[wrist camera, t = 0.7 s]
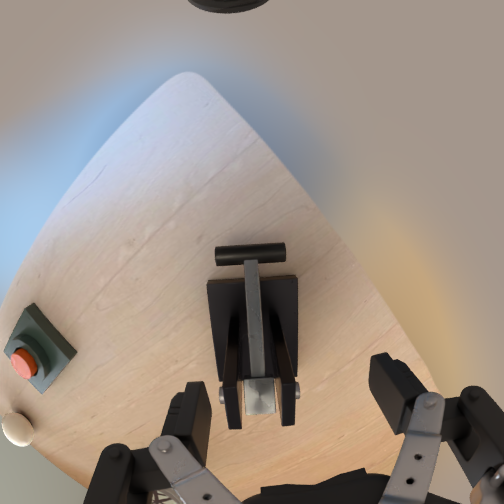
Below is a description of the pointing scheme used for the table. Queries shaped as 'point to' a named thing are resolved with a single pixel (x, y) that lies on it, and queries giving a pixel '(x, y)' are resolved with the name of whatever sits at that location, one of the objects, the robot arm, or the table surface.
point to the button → (23, 363)
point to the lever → (254, 319)
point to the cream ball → (17, 429)
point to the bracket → (237, 343)
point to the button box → (40, 346)
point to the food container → (166, 497)
